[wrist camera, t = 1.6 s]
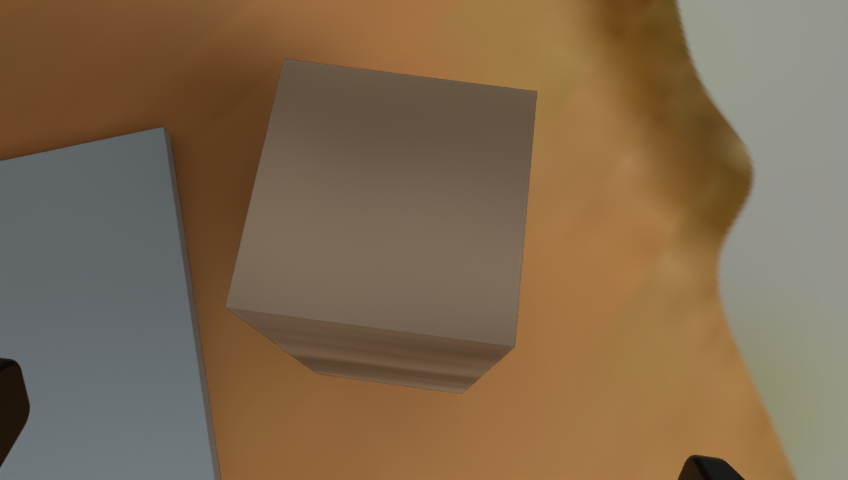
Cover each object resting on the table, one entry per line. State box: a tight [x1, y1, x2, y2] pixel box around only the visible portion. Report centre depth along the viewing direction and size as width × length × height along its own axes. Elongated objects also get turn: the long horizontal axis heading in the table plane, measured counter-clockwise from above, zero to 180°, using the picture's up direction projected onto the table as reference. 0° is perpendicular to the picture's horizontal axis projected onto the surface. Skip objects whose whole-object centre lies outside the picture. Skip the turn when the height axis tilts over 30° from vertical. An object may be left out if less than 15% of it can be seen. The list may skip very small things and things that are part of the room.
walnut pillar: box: [225, 59, 537, 394], centre depth 15 cm, size 4×4×10 cm
